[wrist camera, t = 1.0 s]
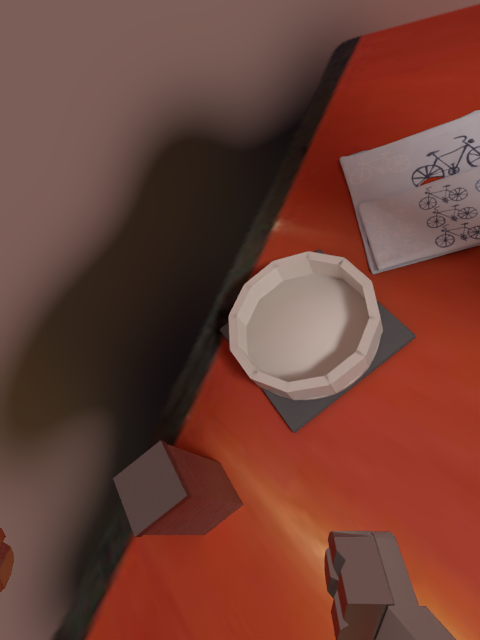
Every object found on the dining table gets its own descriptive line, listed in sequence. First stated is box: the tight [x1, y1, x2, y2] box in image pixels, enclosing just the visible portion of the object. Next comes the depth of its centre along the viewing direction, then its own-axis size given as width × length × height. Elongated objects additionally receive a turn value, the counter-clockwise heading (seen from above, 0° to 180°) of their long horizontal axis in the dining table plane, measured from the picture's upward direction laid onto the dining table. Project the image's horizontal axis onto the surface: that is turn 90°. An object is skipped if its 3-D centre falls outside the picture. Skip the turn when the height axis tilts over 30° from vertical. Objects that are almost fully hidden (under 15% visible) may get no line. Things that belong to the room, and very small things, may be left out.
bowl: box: [229, 251, 383, 401], centre depth 45 cm, size 16×16×4 cm
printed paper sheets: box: [339, 110, 480, 275], centre depth 49 cm, size 19×20×2 cm
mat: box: [220, 249, 415, 433], centre depth 47 cm, size 16×16×1 cm
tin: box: [113, 440, 243, 537], centre depth 38 cm, size 5×5×12 cm
